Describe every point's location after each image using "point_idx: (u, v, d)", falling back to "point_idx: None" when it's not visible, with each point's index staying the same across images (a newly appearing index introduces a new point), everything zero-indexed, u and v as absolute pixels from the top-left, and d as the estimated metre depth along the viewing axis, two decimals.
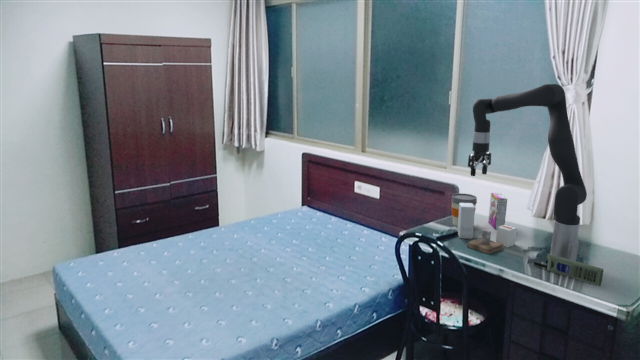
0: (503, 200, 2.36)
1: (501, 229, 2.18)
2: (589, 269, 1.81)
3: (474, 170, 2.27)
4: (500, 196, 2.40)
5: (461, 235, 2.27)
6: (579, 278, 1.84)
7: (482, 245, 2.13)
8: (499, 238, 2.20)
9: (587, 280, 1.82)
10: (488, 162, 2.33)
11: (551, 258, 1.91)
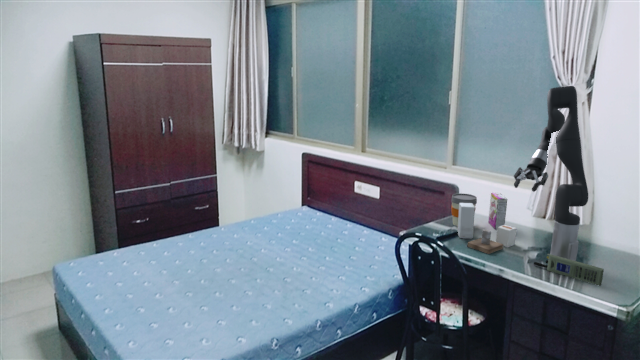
0: (503, 200, 2.36)
1: (501, 229, 2.18)
2: (590, 268, 1.82)
3: (516, 181, 2.26)
4: (500, 196, 2.40)
5: (461, 235, 2.27)
6: (579, 278, 1.85)
7: (482, 245, 2.13)
8: (499, 238, 2.20)
9: (588, 280, 1.83)
10: None
11: (551, 258, 1.91)
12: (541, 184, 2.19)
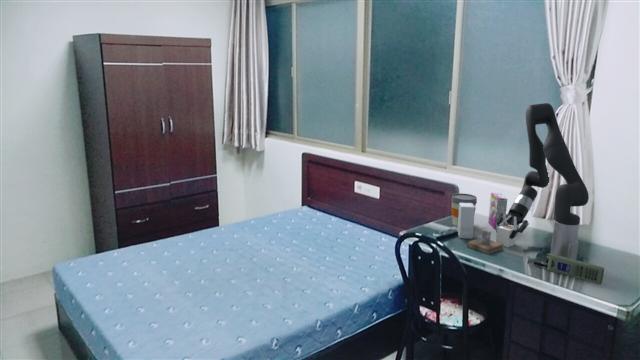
0: (503, 200, 2.36)
1: (501, 229, 2.18)
2: (590, 267, 1.83)
3: None
4: (500, 196, 2.40)
5: (461, 235, 2.27)
6: (580, 277, 1.85)
7: (482, 245, 2.13)
8: (499, 238, 2.20)
9: (588, 279, 1.84)
10: None
11: (552, 257, 1.92)
12: None
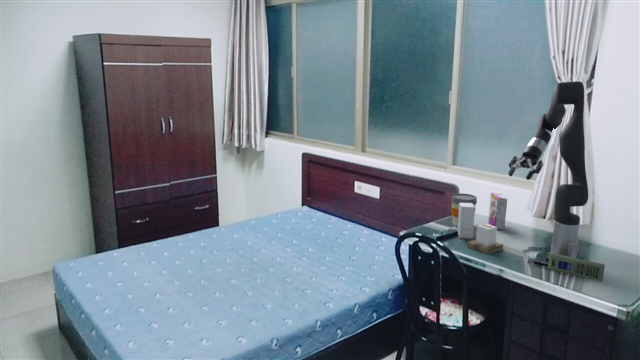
0: (503, 200, 2.36)
1: (481, 228, 2.13)
2: (591, 265, 1.85)
3: (511, 169, 2.22)
4: (500, 196, 2.40)
5: (461, 235, 2.27)
6: (581, 275, 1.87)
7: (482, 245, 2.13)
8: (479, 237, 2.15)
9: (590, 276, 1.86)
10: None
11: (552, 256, 1.93)
12: (536, 172, 2.15)
